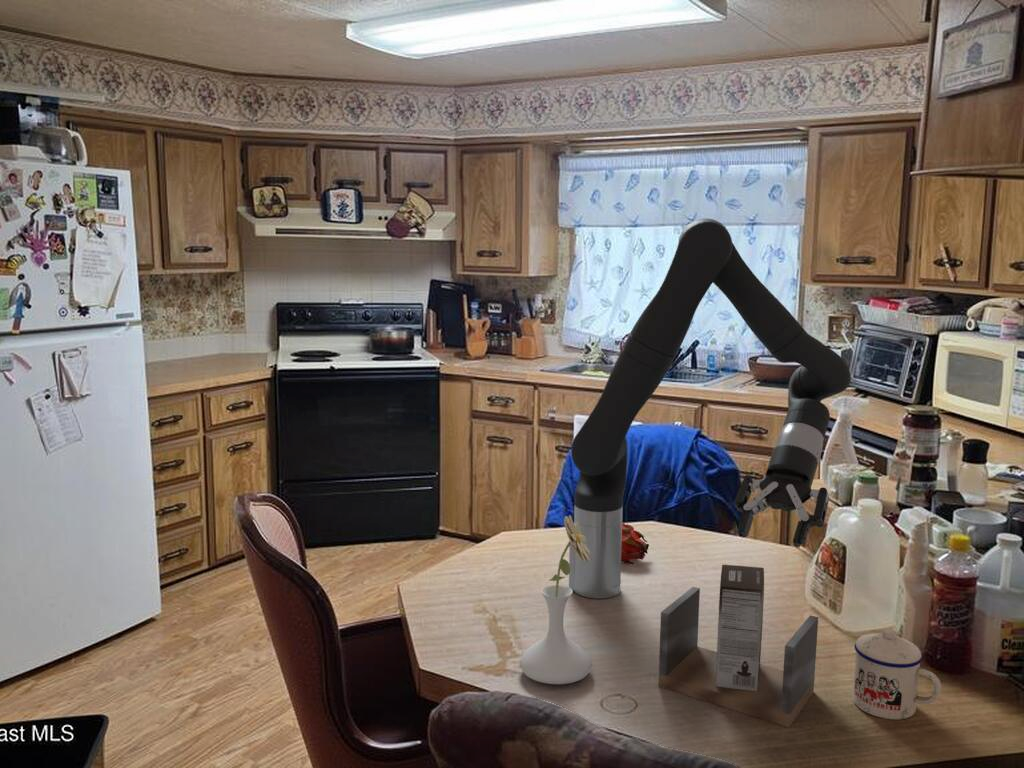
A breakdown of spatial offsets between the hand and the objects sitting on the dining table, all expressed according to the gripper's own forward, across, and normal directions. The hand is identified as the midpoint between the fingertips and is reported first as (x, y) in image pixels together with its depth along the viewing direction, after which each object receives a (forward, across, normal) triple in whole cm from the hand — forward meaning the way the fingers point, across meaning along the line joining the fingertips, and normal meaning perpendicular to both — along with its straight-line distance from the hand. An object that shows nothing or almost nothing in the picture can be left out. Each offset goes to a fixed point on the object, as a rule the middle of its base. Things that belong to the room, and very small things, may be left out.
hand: (769, 539), depth 139 cm
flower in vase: (+31, -25, -2) cm, 40 cm away
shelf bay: (+23, 0, +5) cm, 24 cm away
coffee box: (+22, 0, +4) cm, 22 cm away
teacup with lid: (+18, +21, +11) cm, 30 cm away
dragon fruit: (-4, -39, +33) cm, 51 cm away
